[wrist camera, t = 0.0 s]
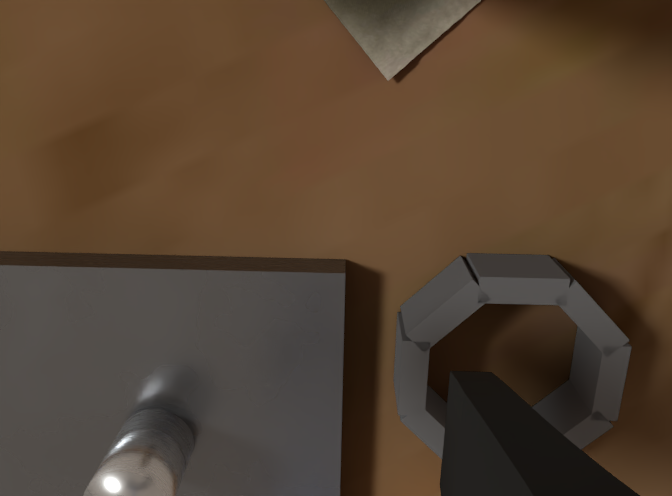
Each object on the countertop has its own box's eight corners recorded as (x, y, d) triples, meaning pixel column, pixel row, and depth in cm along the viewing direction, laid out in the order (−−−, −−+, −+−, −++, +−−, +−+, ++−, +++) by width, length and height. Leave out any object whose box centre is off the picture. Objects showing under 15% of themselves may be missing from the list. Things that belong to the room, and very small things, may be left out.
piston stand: (338, 560, 23) (336, 669, 19) (20, 551, 23) (-48, 657, 19) (345, 259, 19) (344, 317, 15) (-36, 250, 19) (-137, 305, 15)
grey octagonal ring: (583, 437, 21) (606, 477, 19) (390, 432, 21) (394, 471, 19) (615, 256, 19) (644, 280, 17) (400, 251, 19) (406, 275, 17)
